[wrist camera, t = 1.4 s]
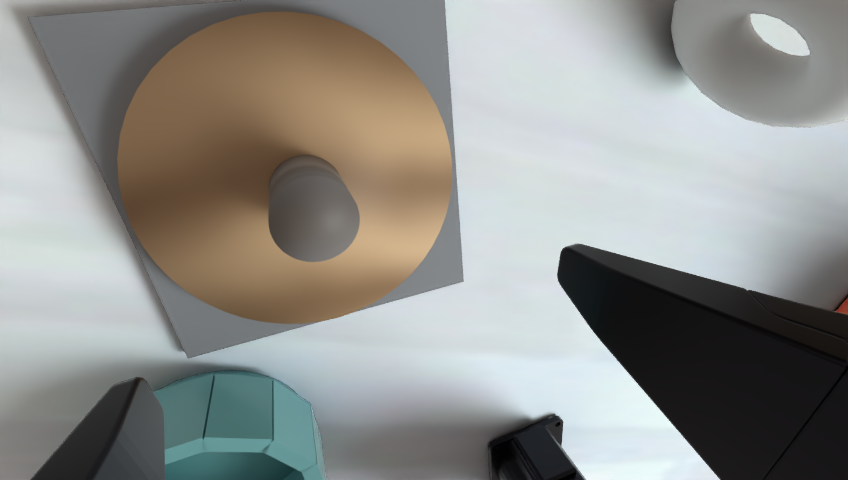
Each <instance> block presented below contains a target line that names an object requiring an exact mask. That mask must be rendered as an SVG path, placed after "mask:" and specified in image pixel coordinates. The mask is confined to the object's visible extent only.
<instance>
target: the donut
mask: <svg viewBox="0 0 848 480" xmlns="http://www.w3.org/2000/svg"><path fill="white" fill-rule="evenodd" d="M751 13H755V14H766V15H769V16H772V17H775V18H778V19H780V20H782V21H783V22H785V23H787V24H788V25H790V26H791V27H793V28H794V29H796V30H797V32H798V33H799V34H800V35H801V36H802V37H803V39H804V40H805V41H806V43H807V45H808V48H809V51H810V55H808V56H796V55H790V54H787V53H785V52H782V51H779V50H777V49H775V48H773V47H772V46H770V45H769V44H768V43H766V42H765V41H763V40H762V38H761V37H760V36H759V35H758V34H757V33H756V31H755V30H754V28H753V26H752V23H751V17H750V14H751ZM671 33H672V38H673V43H674V48H675V53H676V56H677V58H678V60H679V62H680V64H681V66H682V68H683V70H684V71H685V73H686V75H687V76H688V78H689V79H690V80H691V81H692V82H693V83H694V84H695V85H696V87H697V88H698V89H699V90H700V91H701V92H702V93H703V94H704V95H706V96H707V97H708V98H710V99H711V100H712V101H714V102H715V103H716V104H718V105H719V106H720V107H722V108H723V109H726V110H728V111H730V112H732V113H734V114H736V115H738V116H740V117H742V118H744V119H747V120H751V121H755V122H758V123H762V124H766V125H770V126H780V127H803V128H811V127H816V126H821V125H826V124H832V123H837V122H841V121H845V120H848V0H676V1H675V4H674V8H673V16H672V24H671Z"/></svg>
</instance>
